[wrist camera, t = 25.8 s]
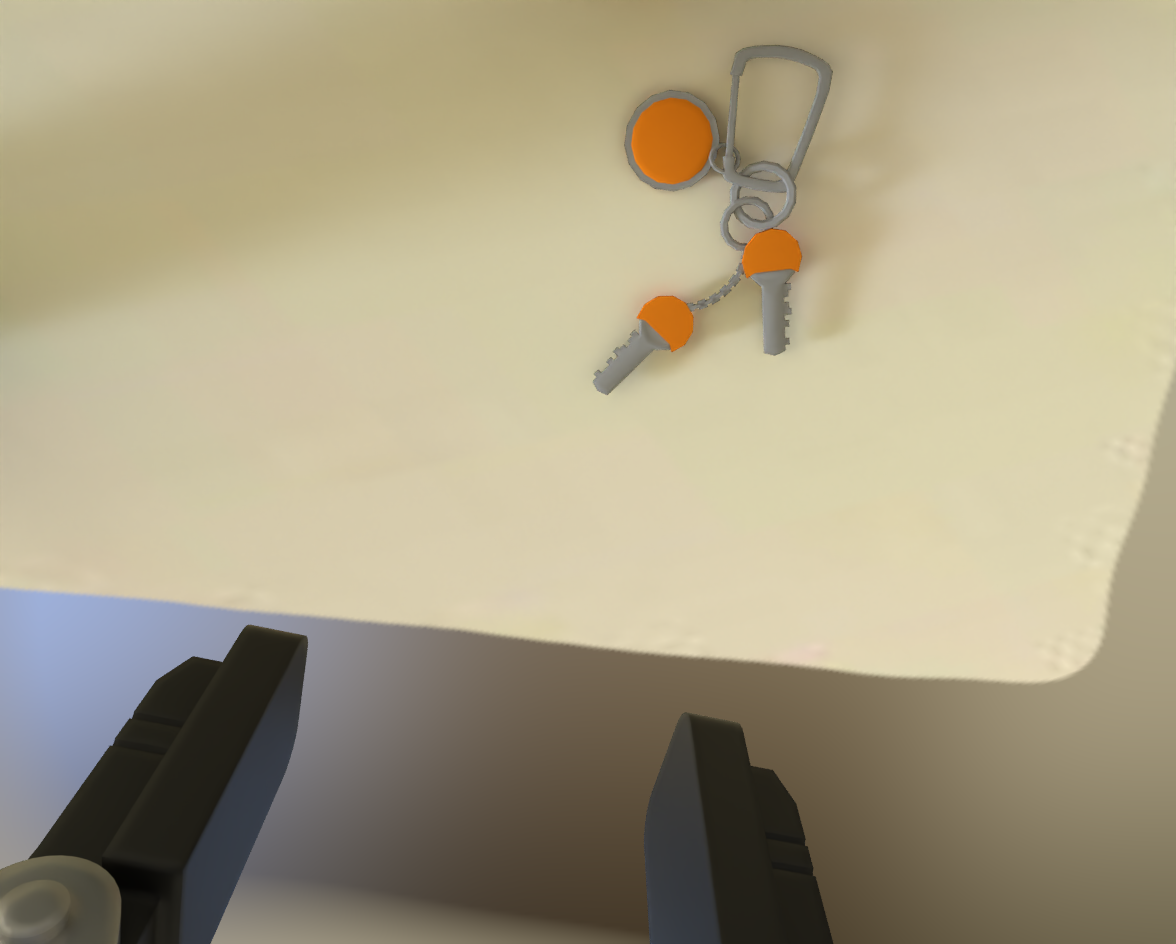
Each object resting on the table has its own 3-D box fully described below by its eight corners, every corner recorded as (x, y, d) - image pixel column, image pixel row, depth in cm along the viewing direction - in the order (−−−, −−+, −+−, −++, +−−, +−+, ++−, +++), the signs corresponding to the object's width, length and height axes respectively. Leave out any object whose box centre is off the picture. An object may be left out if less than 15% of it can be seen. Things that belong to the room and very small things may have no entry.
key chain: (646, 20, 29) (646, 17, 28) (862, 61, 29) (869, 60, 28) (580, 387, 33) (579, 394, 33) (767, 421, 34) (770, 428, 33)
